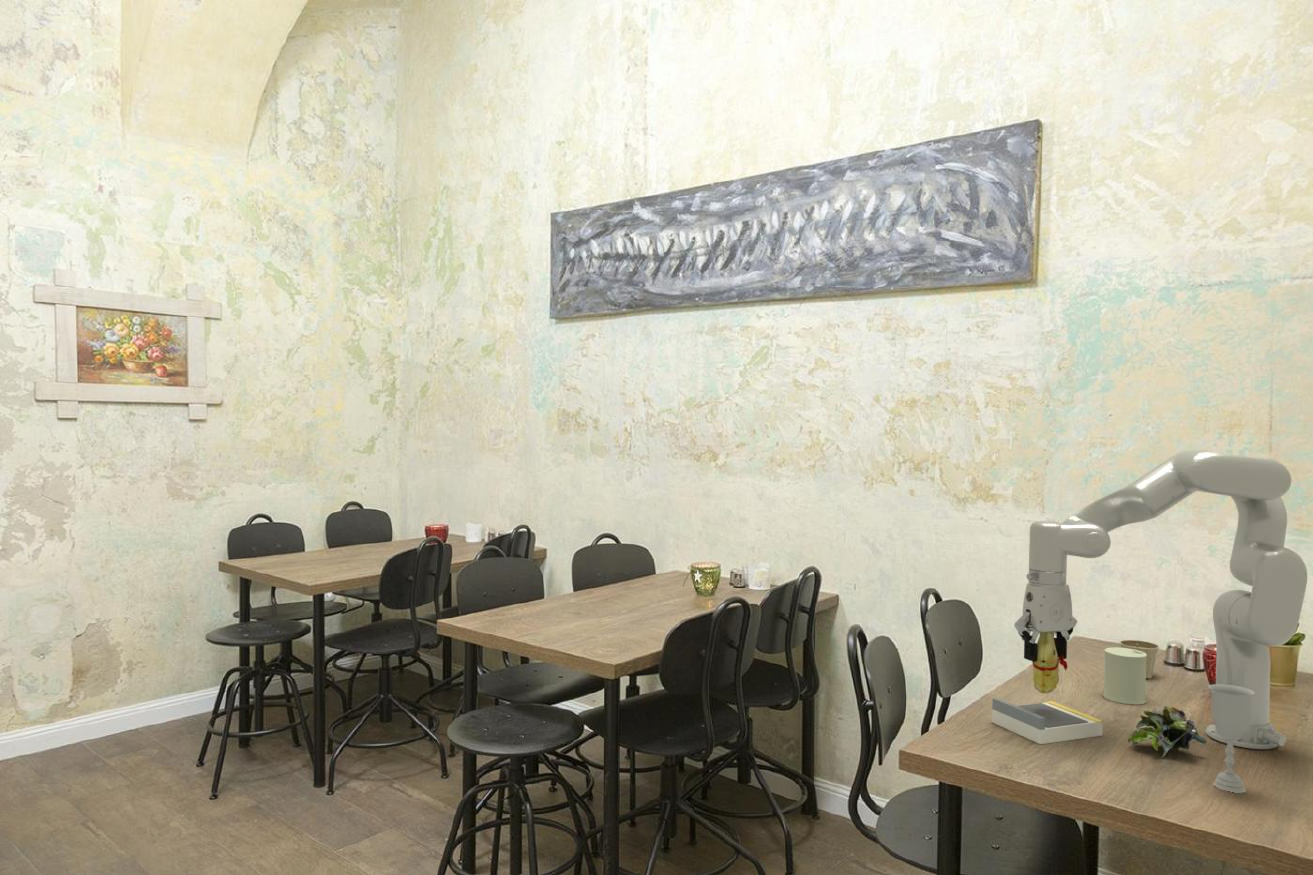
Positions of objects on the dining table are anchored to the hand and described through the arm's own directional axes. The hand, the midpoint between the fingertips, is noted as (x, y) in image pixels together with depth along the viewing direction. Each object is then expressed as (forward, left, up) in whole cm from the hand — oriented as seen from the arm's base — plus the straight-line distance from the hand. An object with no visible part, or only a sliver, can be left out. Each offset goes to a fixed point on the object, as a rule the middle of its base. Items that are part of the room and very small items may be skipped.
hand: (1045, 658), depth 187 cm
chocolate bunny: (0, -1, -7) cm, 7 cm away
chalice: (-35, -9, -16) cm, 39 cm away
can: (+11, -36, -16) cm, 41 cm away
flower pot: (+25, -57, -16) cm, 64 cm away
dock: (0, -1, -15) cm, 15 cm away
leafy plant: (-19, -13, -16) cm, 28 cm away
